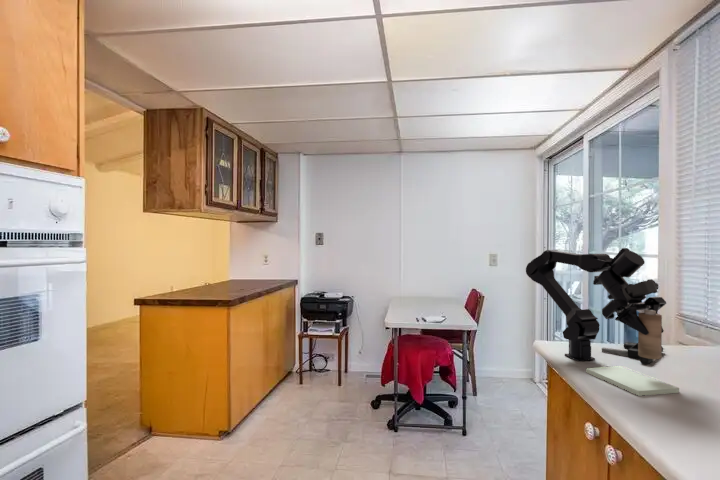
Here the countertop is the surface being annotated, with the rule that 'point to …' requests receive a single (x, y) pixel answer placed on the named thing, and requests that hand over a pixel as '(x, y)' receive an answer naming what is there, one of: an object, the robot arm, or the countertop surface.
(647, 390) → the serving board
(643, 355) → the brown capped cylinder
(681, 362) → the countertop surface
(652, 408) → the countertop surface
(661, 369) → the countertop surface
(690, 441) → the countertop surface
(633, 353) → the door handle
